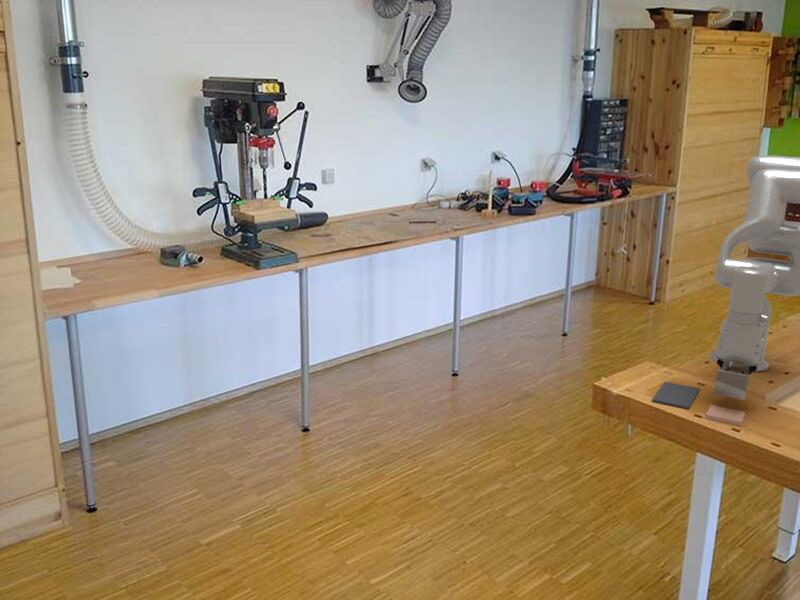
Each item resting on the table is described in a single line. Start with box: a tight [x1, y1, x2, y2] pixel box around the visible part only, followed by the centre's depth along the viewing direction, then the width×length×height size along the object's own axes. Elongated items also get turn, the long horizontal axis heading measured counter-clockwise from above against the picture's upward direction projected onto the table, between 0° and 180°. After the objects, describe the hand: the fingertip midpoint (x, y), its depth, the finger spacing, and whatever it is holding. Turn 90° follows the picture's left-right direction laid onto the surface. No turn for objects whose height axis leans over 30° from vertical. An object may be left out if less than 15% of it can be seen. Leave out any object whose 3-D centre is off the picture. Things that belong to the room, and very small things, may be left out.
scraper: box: [713, 362, 750, 401], centre depth 196 cm, size 13×7×6 cm, turn 150°
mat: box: [651, 381, 701, 410], centre depth 202 cm, size 15×9×1 cm, turn 150°
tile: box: [704, 404, 746, 427], centre depth 190 cm, size 2×8×7 cm
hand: (733, 386), depth 197 cm, fingers closed on scraper, 3 cm apart
